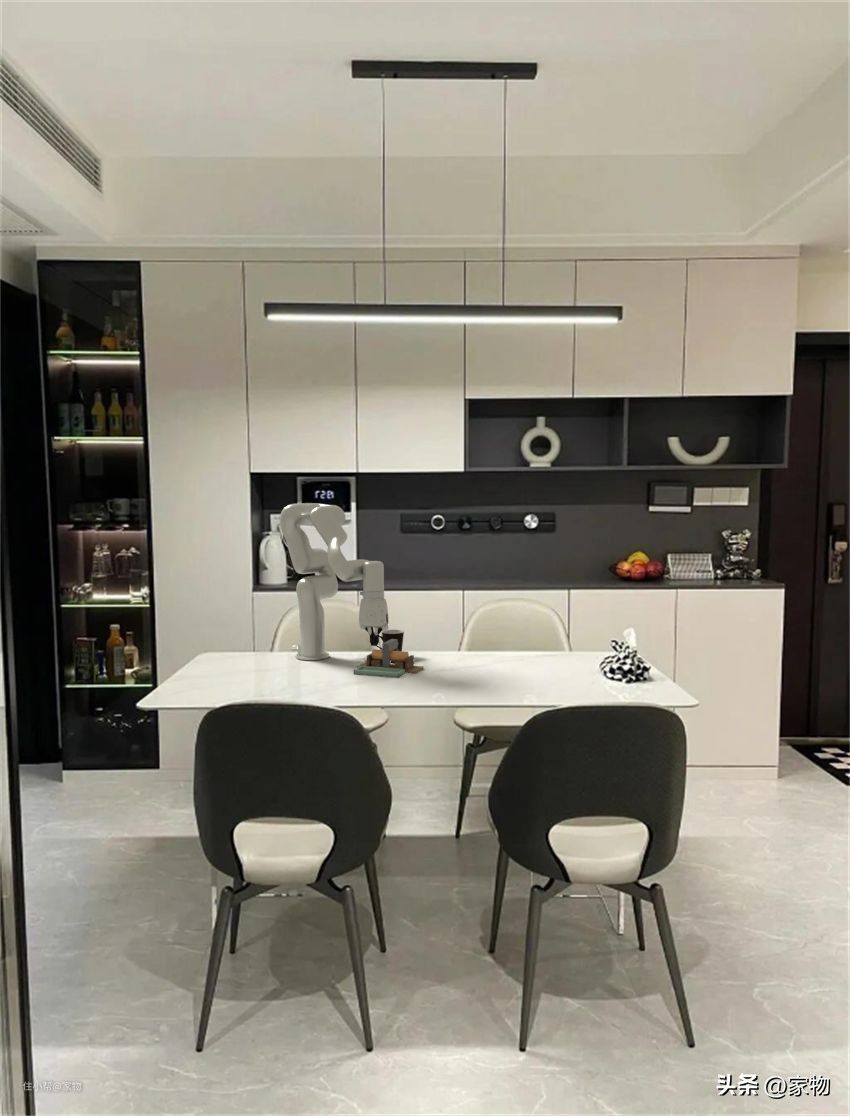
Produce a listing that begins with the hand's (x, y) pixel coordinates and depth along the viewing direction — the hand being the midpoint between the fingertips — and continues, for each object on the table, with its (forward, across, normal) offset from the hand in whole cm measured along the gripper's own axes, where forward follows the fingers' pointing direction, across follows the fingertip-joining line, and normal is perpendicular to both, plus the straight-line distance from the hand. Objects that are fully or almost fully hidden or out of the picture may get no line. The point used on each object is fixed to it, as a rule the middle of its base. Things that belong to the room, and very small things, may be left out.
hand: (374, 645), depth 285 cm
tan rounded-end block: (+5, +6, 0) cm, 8 cm away
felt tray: (+8, +5, -8) cm, 13 cm away
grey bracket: (+7, +6, 0) cm, 9 cm away
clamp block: (+8, +6, 0) cm, 10 cm away
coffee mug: (+9, -2, +19) cm, 21 cm away
